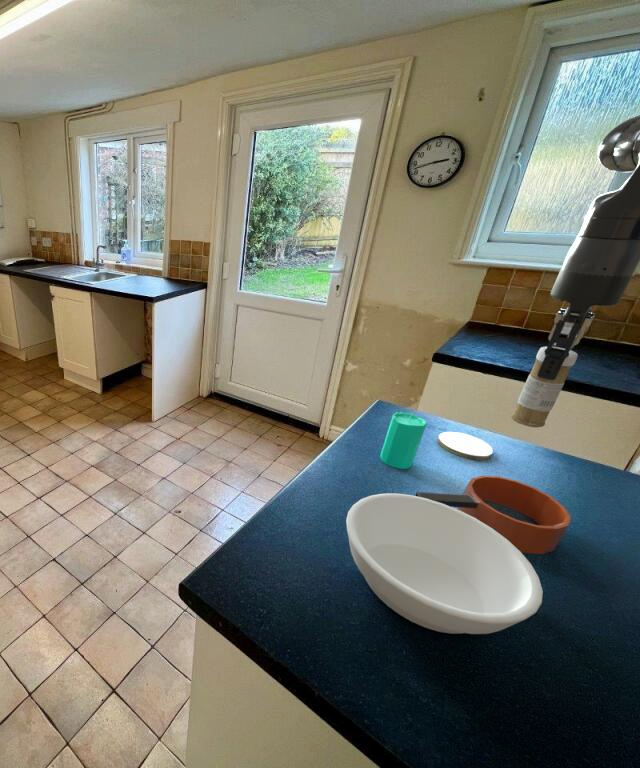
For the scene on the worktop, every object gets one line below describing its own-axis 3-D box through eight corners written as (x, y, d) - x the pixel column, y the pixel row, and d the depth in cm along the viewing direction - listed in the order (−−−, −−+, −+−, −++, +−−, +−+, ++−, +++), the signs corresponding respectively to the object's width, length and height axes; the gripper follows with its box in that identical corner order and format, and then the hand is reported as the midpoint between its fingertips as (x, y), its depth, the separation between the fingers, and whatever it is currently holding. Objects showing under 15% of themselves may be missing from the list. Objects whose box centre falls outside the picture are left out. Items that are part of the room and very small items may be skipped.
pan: (516, 501, 78) (528, 477, 76) (578, 557, 66) (594, 531, 64) (393, 493, 80) (401, 470, 78) (431, 546, 68) (442, 521, 66)
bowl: (338, 514, 75) (349, 477, 72) (494, 560, 66) (514, 520, 62) (329, 617, 57) (343, 574, 54) (542, 701, 48) (575, 656, 44)
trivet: (472, 436, 99) (474, 432, 98) (502, 461, 90) (504, 457, 89) (428, 434, 100) (429, 430, 99) (453, 458, 91) (455, 454, 90)
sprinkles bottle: (535, 417, 74) (569, 347, 68) (549, 430, 70) (586, 356, 64) (504, 413, 75) (534, 344, 70) (516, 426, 71) (549, 353, 66)
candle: (417, 470, 87) (434, 420, 82) (386, 467, 88) (402, 418, 83) (404, 453, 92) (420, 406, 87) (375, 451, 93) (389, 404, 88)
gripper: (631, 279, 55) (573, 394, 62) (636, 266, 63) (585, 369, 70) (554, 272, 60) (509, 378, 67) (568, 260, 68) (527, 357, 76)
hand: (548, 373), depth 69 cm, fingers closed on sprinkles bottle, 4 cm apart
